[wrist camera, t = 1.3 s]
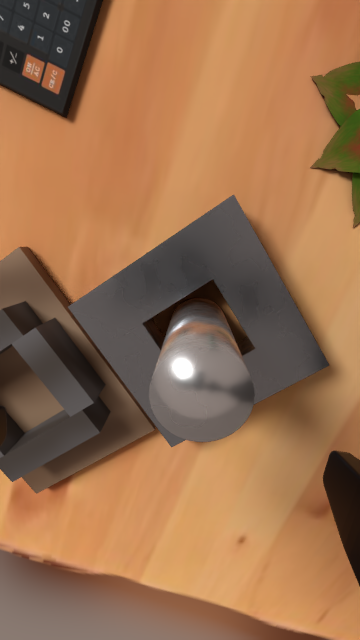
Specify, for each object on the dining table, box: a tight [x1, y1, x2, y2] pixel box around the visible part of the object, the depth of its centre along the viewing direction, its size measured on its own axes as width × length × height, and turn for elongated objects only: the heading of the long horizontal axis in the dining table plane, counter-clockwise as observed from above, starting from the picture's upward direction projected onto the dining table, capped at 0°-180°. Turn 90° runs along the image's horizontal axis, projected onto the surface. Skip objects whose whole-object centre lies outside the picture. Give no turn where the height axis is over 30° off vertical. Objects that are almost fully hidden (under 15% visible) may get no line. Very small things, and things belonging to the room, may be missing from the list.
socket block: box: [68, 195, 329, 447], centre depth 19 cm, size 12×12×2 cm
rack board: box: [0, 247, 156, 494], centre depth 21 cm, size 16×12×4 cm
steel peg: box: [149, 298, 255, 442], centre depth 16 cm, size 4×4×10 cm
